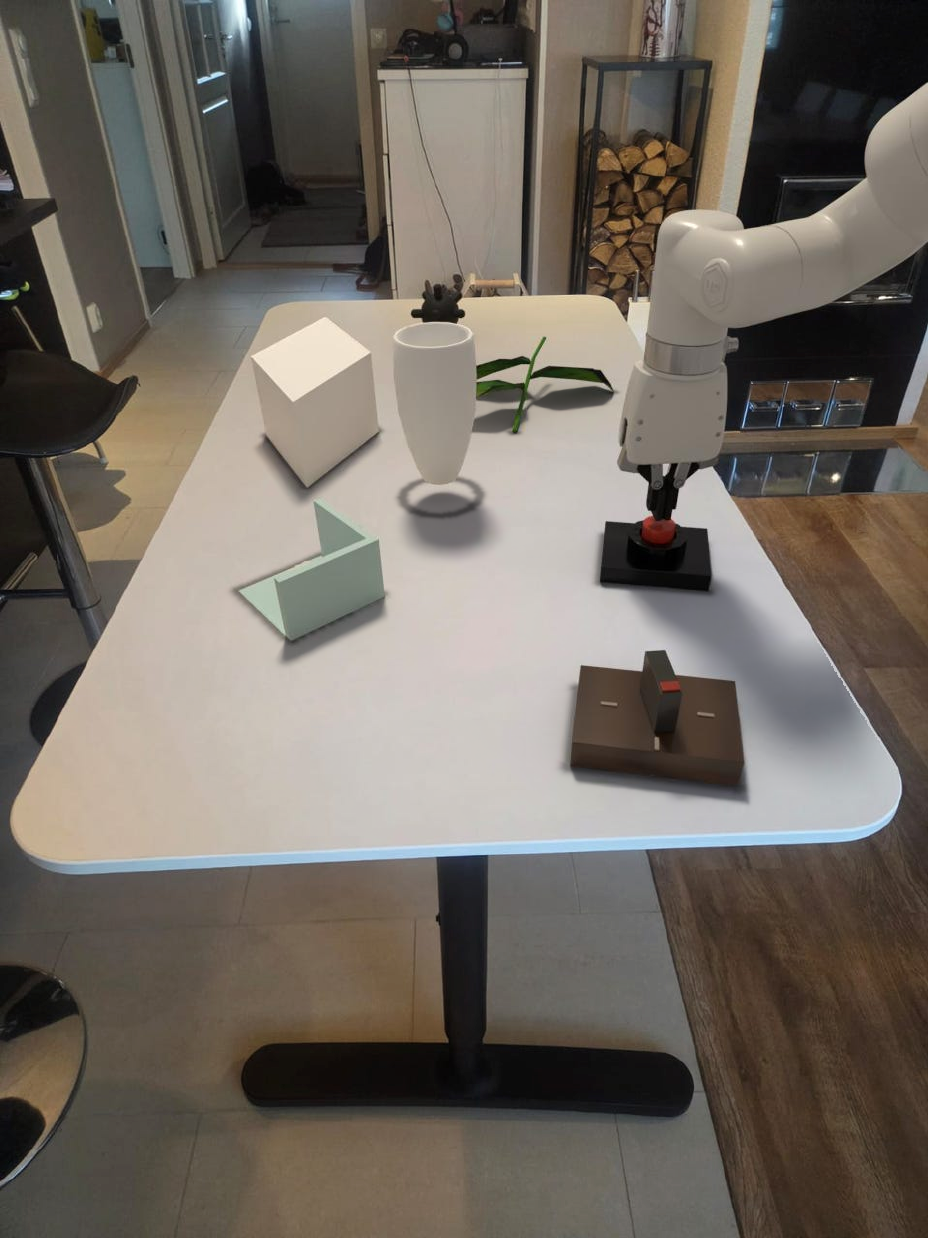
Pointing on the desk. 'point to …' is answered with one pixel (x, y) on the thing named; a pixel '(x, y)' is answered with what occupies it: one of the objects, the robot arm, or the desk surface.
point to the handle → (660, 691)
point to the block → (316, 397)
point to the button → (658, 530)
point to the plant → (531, 376)
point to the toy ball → (439, 307)
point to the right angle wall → (323, 578)
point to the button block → (656, 558)
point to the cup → (436, 395)
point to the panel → (626, 740)
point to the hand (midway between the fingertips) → (659, 514)
